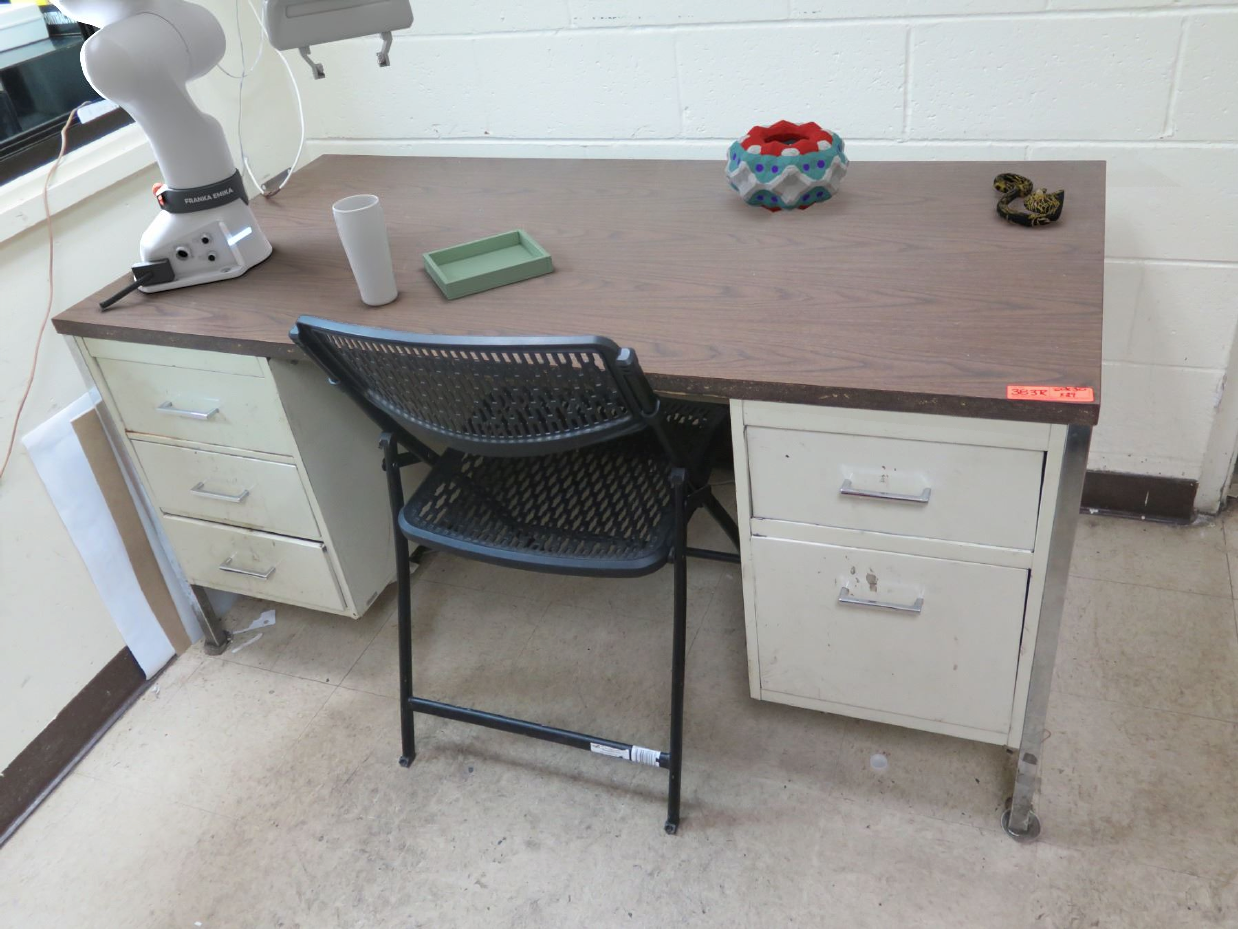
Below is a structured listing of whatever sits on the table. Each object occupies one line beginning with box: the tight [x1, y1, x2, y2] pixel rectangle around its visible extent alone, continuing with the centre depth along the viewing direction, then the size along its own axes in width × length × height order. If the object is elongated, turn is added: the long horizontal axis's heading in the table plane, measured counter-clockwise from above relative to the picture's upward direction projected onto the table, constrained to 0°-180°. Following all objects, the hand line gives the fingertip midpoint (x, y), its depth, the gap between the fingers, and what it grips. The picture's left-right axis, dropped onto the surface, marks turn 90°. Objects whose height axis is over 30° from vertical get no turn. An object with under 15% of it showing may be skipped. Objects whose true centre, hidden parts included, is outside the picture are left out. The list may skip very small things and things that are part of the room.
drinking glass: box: [332, 194, 399, 307], centre depth 143 cm, size 7×7×15 cm
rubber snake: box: [993, 172, 1065, 228], centre depth 150 cm, size 18×5×10 cm
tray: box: [421, 228, 554, 301], centre depth 151 cm, size 17×14×3 cm
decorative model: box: [724, 119, 850, 213], centre depth 160 cm, size 19×14×20 cm
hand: (352, 71), depth 142 cm, fingers open, 8 cm apart
